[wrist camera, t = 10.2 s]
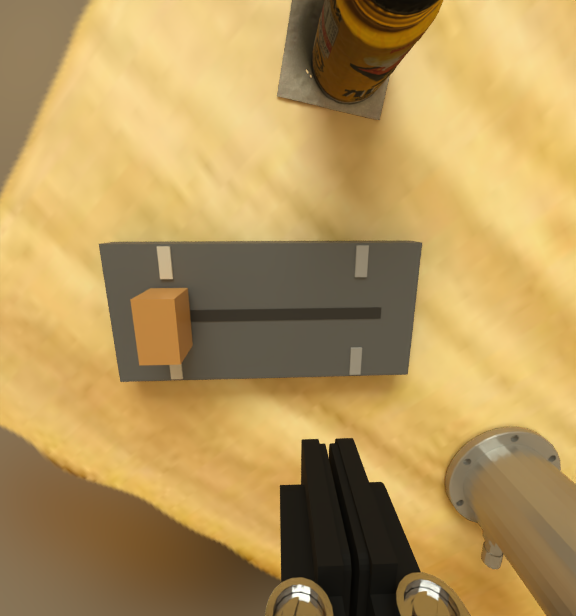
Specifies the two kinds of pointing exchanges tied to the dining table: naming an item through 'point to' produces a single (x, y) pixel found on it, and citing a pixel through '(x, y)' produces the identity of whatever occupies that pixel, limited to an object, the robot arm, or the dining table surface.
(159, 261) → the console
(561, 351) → the dining table surface
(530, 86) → the dining table surface
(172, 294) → the fader tab
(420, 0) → the condiment
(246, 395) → the dining table surface
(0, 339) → the dining table surface
